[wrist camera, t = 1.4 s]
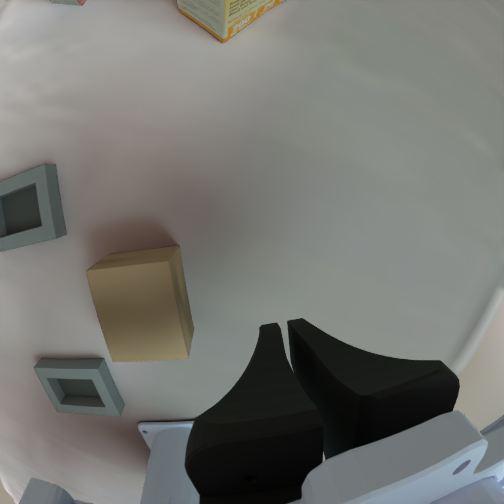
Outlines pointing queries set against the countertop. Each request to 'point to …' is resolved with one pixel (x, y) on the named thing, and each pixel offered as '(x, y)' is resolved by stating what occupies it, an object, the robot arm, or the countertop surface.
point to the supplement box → (225, 14)
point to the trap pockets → (38, 230)
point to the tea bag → (69, 2)
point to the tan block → (143, 304)
